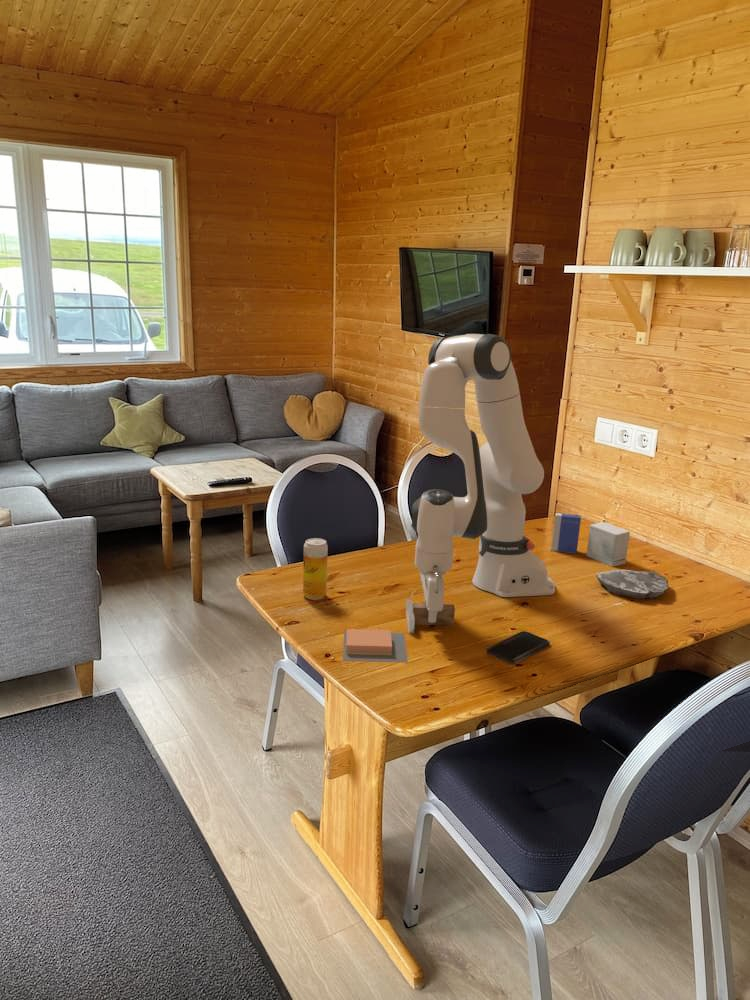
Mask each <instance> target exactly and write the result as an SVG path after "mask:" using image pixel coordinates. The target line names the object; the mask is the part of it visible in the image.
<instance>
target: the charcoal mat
mask: <svg viewBox="0 0 750 1000" xmlns="http://www.w3.org/2000/svg"><path fill="white" fill-rule="evenodd" d="M405 638H406V637H405V633H404V632H391V640H392V655H369V654H346V645H347V630H345V631H343V647H342V648H343V649H342V650H343V652H342V654H343V655H342V661H346V662H348V661H350V662H381V663H384V662H385V663H408V654H407V646H406V639H405Z"/></svg>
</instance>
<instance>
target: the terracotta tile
mask: <svg viewBox="0 0 750 1000" xmlns="http://www.w3.org/2000/svg"><path fill="white" fill-rule="evenodd" d="M346 631H347V645H346V654H369V655H392V640H391V633H392V631H391V630H390V629H364V628H363V629H361V628H360V629H359V628H357V629H356V628H352V629H351V628H347V629H346Z"/></svg>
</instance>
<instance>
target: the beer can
mask: <svg viewBox="0 0 750 1000" xmlns="http://www.w3.org/2000/svg"><path fill="white" fill-rule="evenodd" d="M328 547H329V546H328V542H327V540H326V539H323V538H321V537H319V538H318V537H311V538H308V539H306V540H305V543H304V544H303V561H302V562H303V567H302V569H303V570H302V571H303V574H302V576H303V577H302V580H303V581H302V582H303V583H302V595H303V596H304V597H305V598H306V599H307V598H308V600H310V599H311V601H319V600H322V599H324V598H325V596H326V595H327V590H328V589H327V585H328V556H329V555H328V551H329V549H328Z"/></svg>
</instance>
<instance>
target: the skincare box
mask: <svg viewBox="0 0 750 1000" xmlns="http://www.w3.org/2000/svg"><path fill="white" fill-rule="evenodd" d="M630 533H631V531H629V530H627V529H624V528H622V527H619V526H616V525H614V524H610V523H607V522H605V521H601V522H597V523H592V524H590V525H589V531H588V539H587V548H586V549H587V550H586V557H588V558H591V559H593V560H595V561H598V562H600V563H603V564H605V565H606V566H609V567H612V568H614V567H617V566H621V564H622V565H625V564H626V563H627V555H628V548H629V547H628V546H629V539H630V536H631V535H630Z"/></svg>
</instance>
